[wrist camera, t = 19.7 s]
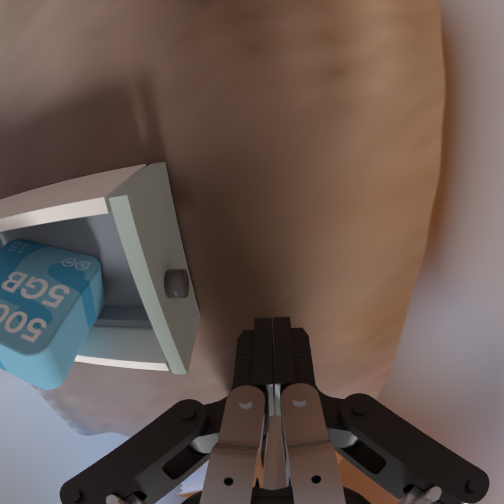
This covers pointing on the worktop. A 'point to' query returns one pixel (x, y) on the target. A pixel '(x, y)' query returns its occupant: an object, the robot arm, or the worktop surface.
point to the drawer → (135, 261)
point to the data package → (45, 309)
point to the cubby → (75, 206)
